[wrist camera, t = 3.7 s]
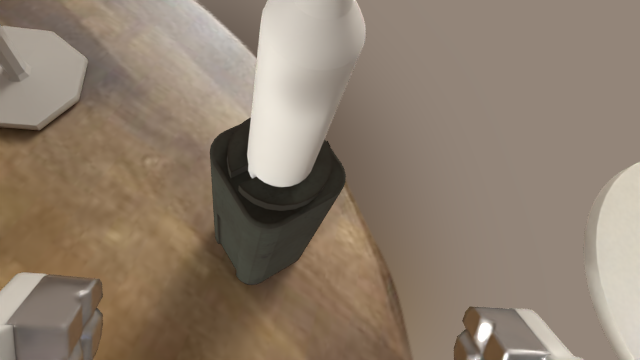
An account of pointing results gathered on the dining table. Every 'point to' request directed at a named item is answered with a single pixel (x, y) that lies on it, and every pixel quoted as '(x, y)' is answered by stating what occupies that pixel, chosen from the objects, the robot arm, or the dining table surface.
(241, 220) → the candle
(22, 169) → the dining table surface
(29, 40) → the wineglass
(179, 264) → the dining table surface
